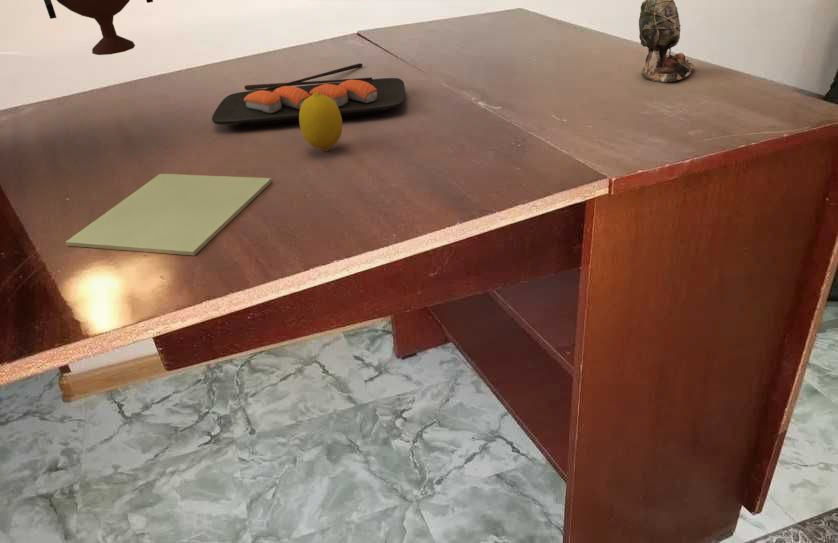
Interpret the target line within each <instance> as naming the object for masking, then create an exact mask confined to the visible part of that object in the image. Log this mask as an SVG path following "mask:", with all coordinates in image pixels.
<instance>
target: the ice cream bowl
mask: <svg viewBox="0 0 838 543" xmlns="http://www.w3.org/2000/svg"><path fill="white" fill-rule="evenodd" d="M56 1H57V2H58V3H59V4H60V5H61V6H63V7H64V8H66V9H68V10H69V11H71V12H73V13H75V14H77V15H80V16H81V17H85V18H89V19H93V20H95V22H96V23H97V25H98V26H99V29H100V32H101V36H102V37H101V39H100V40H99V41H97V43H96V44H95V45H94V46H93V48H92V49H91V53H92V55H96V56H106V55H115V54H120V53H124V52H127V51H131V50H133V49H135V47H136V44H135V43H134V41H133V40H130V39H129V38H125V37H123V36H120V35H118V34H117V31H116V28H115V25H114V18H115V17H114V16H117V15H118V14H119V13H120V12H122V10H123V9H125V7H126V6H127V5H128V4H129V2H130V1H131V0H56Z"/></svg>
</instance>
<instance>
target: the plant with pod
mask: <svg viewBox="0 0 838 543" xmlns="http://www.w3.org/2000/svg"><path fill="white" fill-rule="evenodd" d="M681 27H682V26H681V23H680V16H679V12H678V7H677V6H676V2H675V0H644V1H642V2H641V5H640V13H639V18H638V31H639V34H638V35H639V40H640V44H641V46H642V47H647V51H648V54H647V55H646V58H645V67H642V71H641V73H640V75H641V76H642V77H643V78H644V79H647V80H649V81H652V82H655V81H656V82H657V83H658V82H660V83H661V82H663V83H668V82H669V83H671V82H676V81H680V80H682V79H684V78H686V77H688V76H690V75H691V73H692V71H693V70H695V65H694V64H693V63H692V62H689V61H690V60H689V59H687V60H686V54H684V53H683V52H679V53H676V54H674V55H673V54H672V53H671V52H672V49H673V48H674V47H676V46H677V45H678V43H679V42H680V39H681ZM668 51H669V53H668V54H667V52H668ZM653 53H654V56H655V57H656V61H655V64H651V65H650V62H651V59H652V57H653Z"/></svg>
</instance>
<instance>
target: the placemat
mask: <svg viewBox="0 0 838 543" xmlns="http://www.w3.org/2000/svg"><path fill="white" fill-rule="evenodd" d="M272 182H273V179H272V178H271V177H253V176H252V177H251V176H250V177H249V176H227V175H206V174H205V175H201V174H177V173H159V174H158V175H156V176H155V177H153V178H152V179H150V180H149V181H148V182H147V183H145V184H144V185H143V186H141V187H139V188H138V189H137V190H135V191H134V192H132V193H131V194H130V195H128V196H127V197H125V198H124V199H123V200H121V201H120V202H119V203H117V204H116V205H114V206H113V207H112V208H110V209H109V210H108V211H106V212H104V213H103V214H102V215H101V216H99V217H98V218H96V219H95V220H93V221H92V222H91V223H89V224H88V225H87V226H85V227H84V228H83V229H82V230H80V231H78V232H77V233H76V234H74V235H73V236H71V237H70V238H69V239H67V240H66V241H65V245H66V246H67V247H78V248H91V249H103V250H104V249H105V250H115V251H117V250H118V251H129V252H141V253H144V252H145V253H153V254H154V253H155V254H167V255H179V256H180V255H182V256H193V257H194V256H196V255H197V254H198V253H199V252H200V251H201V250H202V249H203V248H204V247H206V245H207V244H209V243H210V242H211V240H212V239H214V238H215V237H216V236H217V235H218V234H219V233H220V232H221V231H222V230H223V229H224V228H225V227H226V226H228V224H230V222H231V221H233V220H234V219H235V218H236V217H237V216H238V215H239V214H240V213H241V212H242V211H243V210H244V209H245V208H247V206H248V205H249V204H251V202H253V200H255V198H257V197H258V196H259V195H260V194H261V193H262V192H263V191H264V190H265V189H266V188H267V187H268V186H269V185H270V184H271V183H272Z"/></svg>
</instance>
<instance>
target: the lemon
mask: <svg viewBox="0 0 838 543" xmlns="http://www.w3.org/2000/svg"><path fill="white" fill-rule="evenodd" d="M298 124H299V128H300V133H301V134H302V137H303V138H304V140H305V141H306V142H307V144H309V145H311V147H314V148H317V149H320V150H321V151H323V152H328V151H329V149H330V148H331V147H333V146H334V145H336V144H337V142H339V140H340V138H341V137H342V136H341V135H342V134H343V133H342V132H343V117H341V114H340V111H339V108H338V106H337V104H336V103H335V102H334V101H333V100H332V99H331V98H330V97H328V96H326V95H323V94H320V93H319V92H314V93H313V94H312V95H311V96H310V97H308V98H307V99H306V100H305V101H304V102H303V103H302V105H301V108H300V112H299V121H298Z"/></svg>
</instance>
